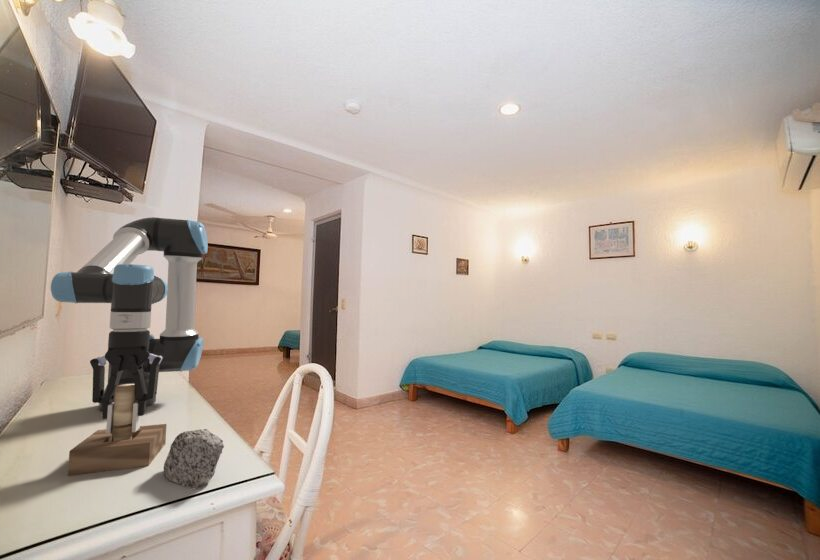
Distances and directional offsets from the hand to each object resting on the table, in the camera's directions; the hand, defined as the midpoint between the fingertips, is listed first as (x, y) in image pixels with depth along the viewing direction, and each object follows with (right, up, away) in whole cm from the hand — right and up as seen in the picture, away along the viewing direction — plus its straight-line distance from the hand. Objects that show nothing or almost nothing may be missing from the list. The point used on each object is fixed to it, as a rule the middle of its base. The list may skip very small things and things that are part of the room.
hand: (123, 430), depth 80 cm
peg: (0, -4, 0) cm, 4 cm away
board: (0, -6, 0) cm, 6 cm away
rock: (+21, -7, -7) cm, 23 cm away
